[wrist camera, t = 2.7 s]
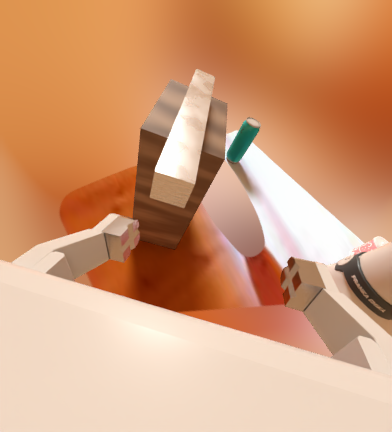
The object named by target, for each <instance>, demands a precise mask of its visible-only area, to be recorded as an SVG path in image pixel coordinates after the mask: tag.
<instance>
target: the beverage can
mask: <svg viewBox="0 0 392 432" xmlns="http://www.w3.org/2000/svg"><path fill="white" fill-rule="evenodd" d="M260 127H261V124H260V123H259V122H258V121H257V120H255V119H253V118H250V117H248V118H247V119H246V120H245V121H244V122H243V124H242V126H241V128H240V130H239V132H238V133H237V135H236V137H235V139H234V141H233V143H232V144H231V146H230V148H229V150H228V152H227V159H228V161H230V162H231V163H237V162H239V161H240V160H241V158H242V157H243V155H244V154H245V152H246V151H247V149H248V147H249V146H250V144H251V143H252V141H253V140H254V138H255V136H256V135H257V133H258V131H259V128H260Z"/></svg>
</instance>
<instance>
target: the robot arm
mask: <svg viewBox="0 0 392 432" xmlns="http://www.w3.org/2000/svg"><path fill="white" fill-rule="evenodd" d="M138 227H139V221H138V220H137V219H133V218H129V217H125V216H121V215H117V214H113V213H112V214H109V215H108V216H107V217H106V218H105V219H104V220H102V221H101V222H100V223H99V224H98V225H96V226H95V227H94V228H93V229H92V230H91V229H87V230H84V231H81V232H77V233H74V234H71V235H68V236H64V237H61V238H58V239H55V240H51V241H48V242H45V243H42V244H39V245H36V246H35V247H33V248H32V249H31V250H29V251H28V252H26V253H25V254H23V255H22V256H20V257H19V258H18V259H16V260H15V261H13V262H12V263H9V262H6V261H2V260H0V432H392V242H390V243H387V244H385V245H383V246H381V247H379V248H376V249H374V250H371V251H369V252H360V253H358V254H355V255H351V256H348V257H346V258H344V259H341V260H340V261H338V262H337V263H334V264H330V265H325V264H323V263H318V262H312V261H308V260H304V259H299V258H295V257H291V258H289V260H288V262H287V263H288V266H287V267H285V268H284V269H283V271H282V273H281V278H280V282H281V287H282V288H283V289H284V290H285V291H284V293H283V298H284V304H285V307H289V308H292V309H296V310H299V311H302V312H303V313H304V314H305V316H306V317H307V319H308V320H309V321H310V323H311V324H312V326H313V327H314V329H315V330H316V331H317V333H318V334H319V336H320V337H321V339H322V340H323V341H324V343H325V344H326V346H327V347H328V349H329V350H330V351H331V353H332V354H333V356H332V357H331V358H329V357H326V356H323V355H319V354H316V353H312V352H309V351H306V350H302V349H299V348H296V347H292V346H289V345H286V344H282V343H279V342H276V341H272V340H269V339H265V338H262V337H259V336H255V335H252V334H248V333H245V332H242V331H238V330H235V329H232V328H228V327H225V326H221V325H218V324H214V323H211V322H208V321H204V320H201V319H198V318H194V317H191V316H188V315H184V314H181V313H178V312H174V311H171V310H168V309H164V308H161V307H157V306H154V305H151V304H147V303H144V302H141V301H137V300H134V299H131V298H127V297H124V296H120V295H117V294H114V293H110V292H107V291H104V290H100V289H97V288H93V287H90V286H87V285H83V284H80V283H76V282H75V280H74V279H76V278H78V277H79V276H81V275H83V274H85V273H87V272H88V271H90V270H92V269H94V268H95V267H97V266H99V265H101V264H103V263H104V262H106V261H108V260H109V259H112V260H116V261H120V262H125V261H126V259H127V258H128V257H129V255H130V254H131V252H130V250H132V249H134V248H135V247H136V246H137V244H138V242H139V238H140V232H139V231H138V229H137V228H138Z"/></svg>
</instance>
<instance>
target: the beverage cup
mask: <svg viewBox="0 0 392 432" xmlns="http://www.w3.org/2000/svg"><path fill="white" fill-rule="evenodd" d="M387 243H389V242H388V241H387V240H385V239H384V238H382V237H380V236H377V237H376V238H374V239H373V240H371V241H369V242H367V243H365V244H363V245H361V246H359V247H357V248H355V249H353V250H351V251H350V256H351V255H355V254H358V253H360V252H369V251H371V250H374V249H376V248H379V247H381V246H383V245H385V244H387Z"/></svg>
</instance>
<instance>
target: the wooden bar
mask: <svg viewBox="0 0 392 432" xmlns="http://www.w3.org/2000/svg"><path fill="white" fill-rule="evenodd" d="M214 80H215V77H213V76H211V75H209V74H207V73H205V72H203V71H201V70H198V69H196V71H195V74H194V76H193V78H192V81H191V83H190V86H189V88H188V91H187V93H186V96H185V98H184V100H183V103H182V105H181V108H180V110H179V113H178V115H177V118H176V120H175V122H174V125H173V127H172V130H171V132H170V135H169V137H168V140H167V142H166V144H165V147H164V149H163V152H162V154H161V157H160V159H159V162H158V164H157V167H156V169H155V172H154V177H153V182H152V188H151V193H150V198H152V199H155V200H159V201H162V202H165V203H168V204H172V205H175V206H178V207H181V208H185V205H186V203H187V201H188V199H189V197H190V194H191V192H192V190H193V188H194V186H195V182H196V176H197V171H198V166H199V160H200V155H201V150H202V144H203V139H204V134H205V128H206V123H207V118H208V112H209V107H210V102H211V95H212V91H213V85H214Z"/></svg>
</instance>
